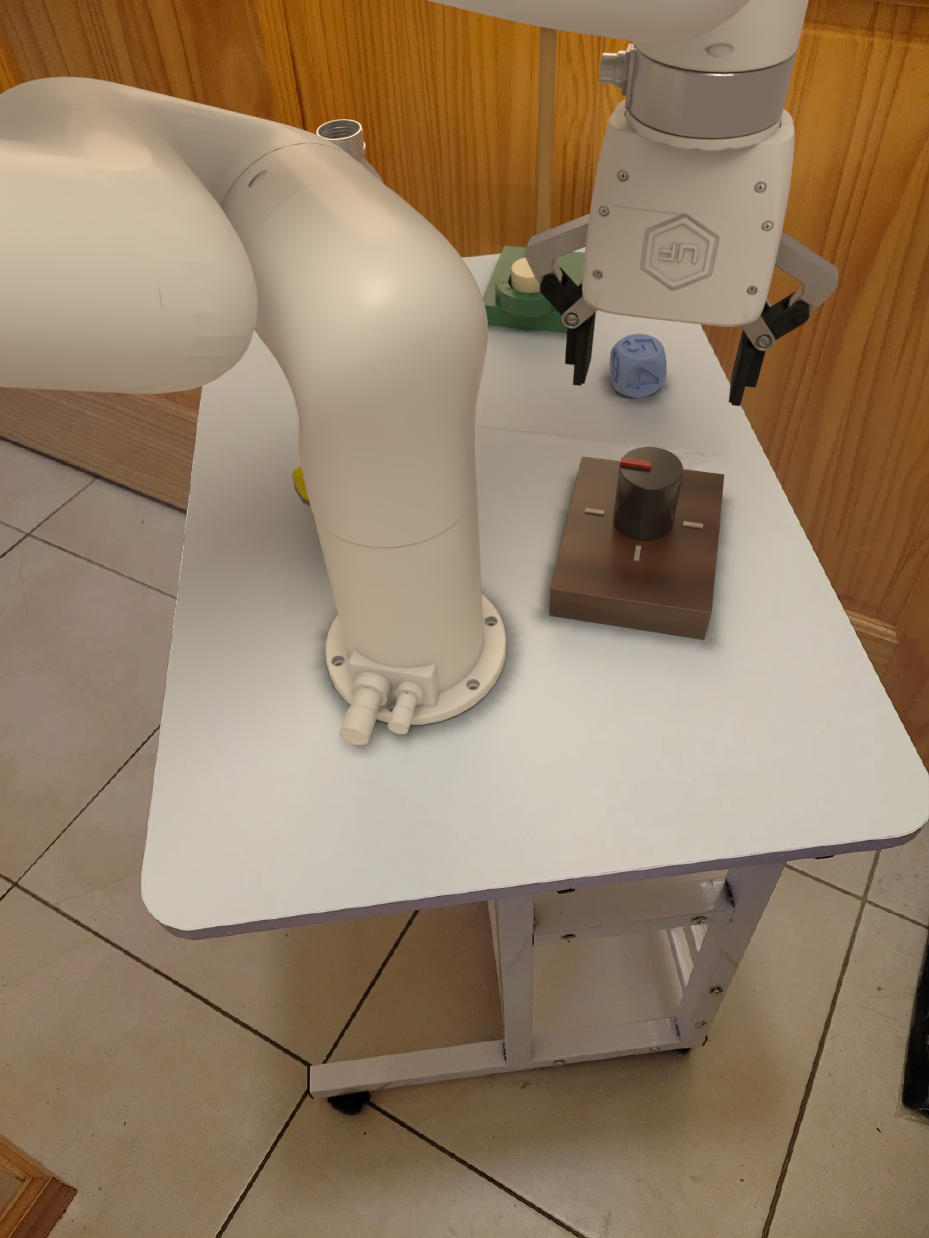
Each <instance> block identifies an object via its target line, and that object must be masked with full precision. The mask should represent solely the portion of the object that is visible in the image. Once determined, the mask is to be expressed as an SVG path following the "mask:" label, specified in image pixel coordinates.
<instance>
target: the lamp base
mask: <svg viewBox="0 0 929 1238" xmlns="http://www.w3.org/2000/svg"><path fill="white" fill-rule="evenodd" d="M525 249H526V247H524V246H523V247H522V246H511V245H503V247H502V250H501V253H500V255H499V257H498V259H497V262H496V265H495V267H494V270H493V272H492V275H491V277H490V280H489V282H488V284H487V287H486V289H485V291H484V295H483V296H482V298H483V301H484V305H485V309H486V314H487V321H488V326H490V327H491V326H492V327H503V328H510V329H511V328H512V329H522V330H531V331H532V330H533V331H540V332H541V331H542V332H552V333H563V334H567V327H566V326H565V325H564V324H563V322H562V315H561V314H560V313H559V312H558V311H557V310H556V309H555V308H554V307H553V306H552V305H551V303H550V302H549V301H548V300H547V299H546V298H545V297H544V296H543V295H542V293H541V292H536V293H524V292H519V291H517V290H514V289H513V287H512V285H511V267H512V265H513V263H514V262H516V261H517V260H519V259H522V258H525V254H524V253H525ZM584 255H585V251H584V252H583V251H573V252H571V253H568V254H565V255H563V256H560V257H557V258H556V259H557V261H558V265H559V267H561V268H562V269H563V270H564V271H565V272H566V274H567V275H568V276H569V277H570V278H571V279H572V280H573V281H574V283H575V284H576V285H577V284H578V283H579V282H580V281H581V280H582V278H583V265H584Z"/></svg>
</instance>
